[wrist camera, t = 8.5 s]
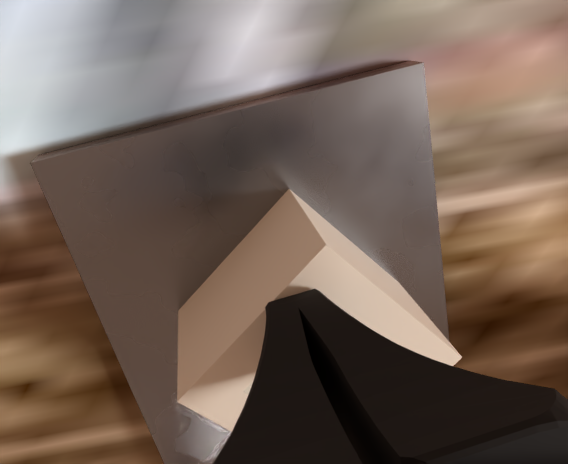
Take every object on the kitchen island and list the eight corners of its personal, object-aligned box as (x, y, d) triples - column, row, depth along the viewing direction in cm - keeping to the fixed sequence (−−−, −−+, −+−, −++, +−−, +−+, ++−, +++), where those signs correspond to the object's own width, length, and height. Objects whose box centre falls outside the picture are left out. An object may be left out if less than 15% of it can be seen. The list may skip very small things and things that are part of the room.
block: (398, 282, 18) (462, 357, 14) (295, 386, 19) (326, 484, 15) (289, 188, 16) (326, 244, 12) (178, 310, 17) (177, 401, 13)
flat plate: (443, 387, 22) (504, 470, 18) (177, 472, 21) (176, 580, 17) (410, 60, 16) (487, 72, 12) (39, 154, 15) (-14, 202, 11)
